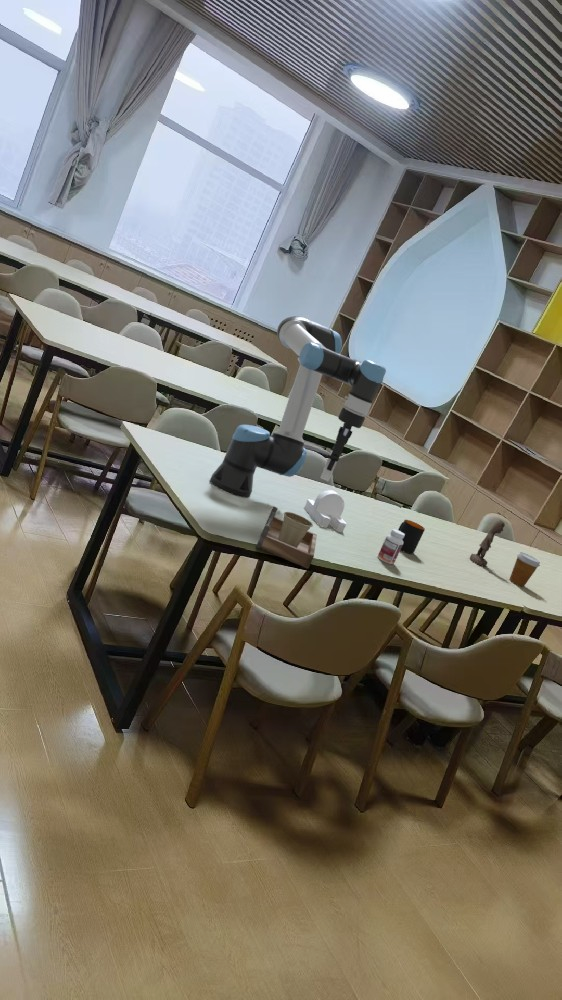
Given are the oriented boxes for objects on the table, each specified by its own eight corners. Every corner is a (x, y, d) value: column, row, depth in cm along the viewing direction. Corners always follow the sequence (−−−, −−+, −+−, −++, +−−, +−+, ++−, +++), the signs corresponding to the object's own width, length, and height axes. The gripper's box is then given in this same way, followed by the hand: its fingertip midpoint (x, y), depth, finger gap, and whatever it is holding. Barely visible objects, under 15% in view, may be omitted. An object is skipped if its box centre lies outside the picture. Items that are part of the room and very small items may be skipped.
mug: (402, 543, 294) (413, 519, 292) (417, 556, 284) (429, 531, 281) (384, 537, 291) (396, 513, 288) (399, 551, 280) (411, 526, 278)
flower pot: (302, 546, 232) (313, 521, 230) (301, 554, 223) (312, 528, 221) (274, 534, 232) (285, 509, 230) (271, 542, 223) (282, 516, 221)
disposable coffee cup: (502, 575, 312) (515, 549, 310) (522, 582, 314) (535, 557, 311) (510, 583, 303) (524, 557, 300) (531, 591, 305) (545, 565, 302)
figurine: (489, 569, 313) (511, 526, 309) (473, 563, 311) (495, 520, 307) (480, 560, 322) (501, 518, 317) (465, 555, 320) (486, 513, 315)
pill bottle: (387, 558, 263) (400, 530, 261) (397, 566, 258) (410, 537, 255) (373, 554, 260) (387, 526, 257) (383, 563, 255) (396, 534, 252)
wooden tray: (264, 525, 240) (273, 506, 238) (312, 545, 240) (320, 526, 238) (255, 546, 215) (265, 525, 214) (308, 569, 215) (317, 547, 214)
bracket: (343, 533, 272) (356, 505, 269) (318, 526, 268) (331, 497, 265) (326, 514, 289) (338, 488, 286) (302, 507, 285) (314, 480, 282)
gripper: (344, 402, 238) (317, 463, 243) (341, 410, 214) (311, 478, 219) (366, 412, 238) (338, 472, 243) (365, 421, 214) (335, 488, 219)
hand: (325, 475), depth 231 cm, fingers open, 13 cm apart
